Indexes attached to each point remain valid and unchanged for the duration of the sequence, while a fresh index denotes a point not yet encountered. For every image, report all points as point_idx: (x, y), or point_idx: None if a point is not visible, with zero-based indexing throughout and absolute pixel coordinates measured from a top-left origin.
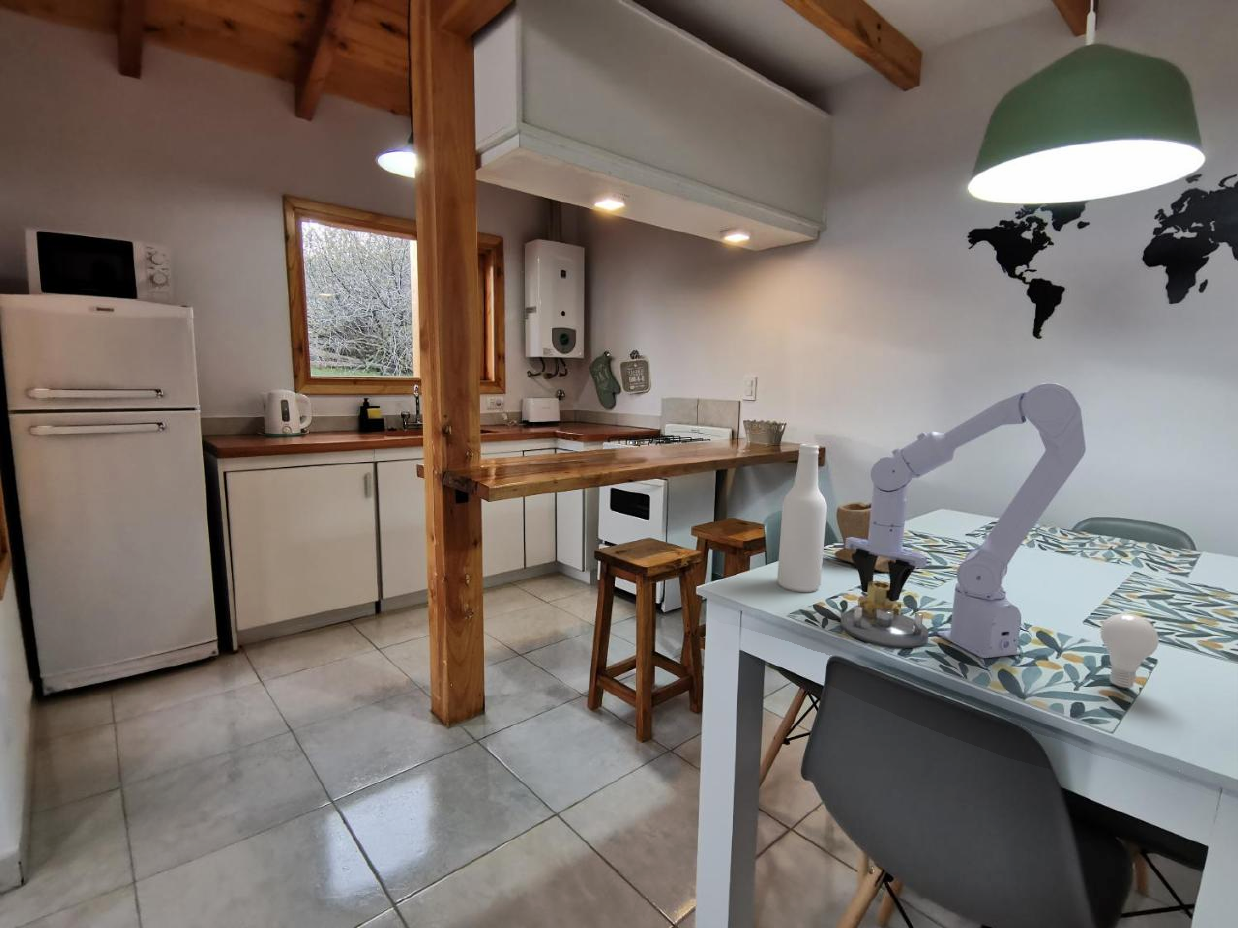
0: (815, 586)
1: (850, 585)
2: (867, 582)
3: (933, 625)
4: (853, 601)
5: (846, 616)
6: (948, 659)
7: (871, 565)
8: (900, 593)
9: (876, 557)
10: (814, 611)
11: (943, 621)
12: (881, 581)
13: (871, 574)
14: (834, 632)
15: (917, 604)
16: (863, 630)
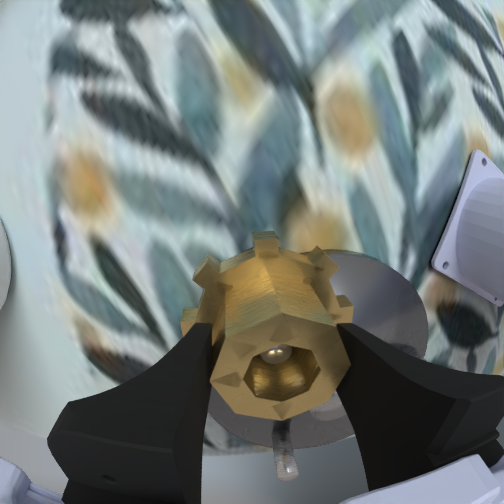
0: (4, 264)
1: (33, 80)
2: (207, 384)
3: (403, 194)
4: (114, 217)
5: (224, 411)
6: (454, 360)
7: (194, 430)
8: (367, 331)
9: (184, 436)
10: None
11: (408, 130)
12: (251, 327)
13: (199, 377)
14: (243, 447)
15: (280, 31)
16: (302, 437)
